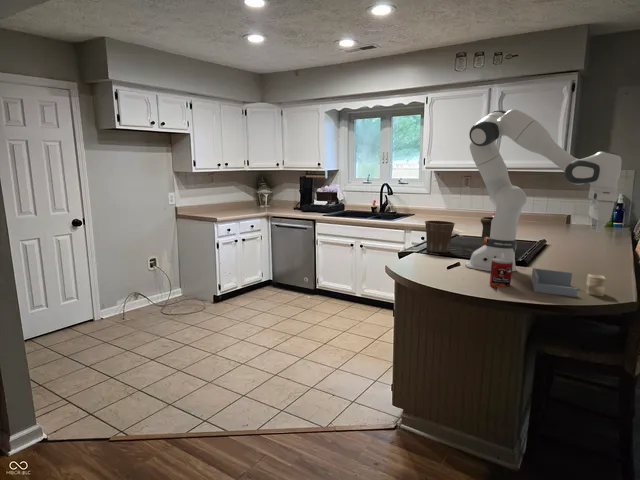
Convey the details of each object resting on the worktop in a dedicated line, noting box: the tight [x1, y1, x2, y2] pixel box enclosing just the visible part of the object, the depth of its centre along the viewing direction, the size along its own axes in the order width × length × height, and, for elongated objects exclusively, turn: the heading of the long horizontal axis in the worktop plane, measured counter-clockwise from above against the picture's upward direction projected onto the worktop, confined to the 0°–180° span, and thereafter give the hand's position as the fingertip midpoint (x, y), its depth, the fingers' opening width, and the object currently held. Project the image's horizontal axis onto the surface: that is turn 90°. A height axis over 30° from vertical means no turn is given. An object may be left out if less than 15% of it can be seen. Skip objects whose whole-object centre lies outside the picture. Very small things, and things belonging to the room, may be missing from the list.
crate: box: [530, 267, 578, 298], centre depth 166 cm, size 14×16×6 cm
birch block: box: [585, 273, 607, 297], centre depth 160 cm, size 5×5×7 cm
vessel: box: [480, 216, 494, 247], centre depth 230 cm, size 14×14×20 cm
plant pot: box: [424, 220, 456, 254], centre depth 236 cm, size 16×16×16 cm
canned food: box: [489, 258, 513, 289], centre depth 169 cm, size 8×8×11 cm
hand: (596, 230), depth 165 cm, fingers open, 8 cm apart
